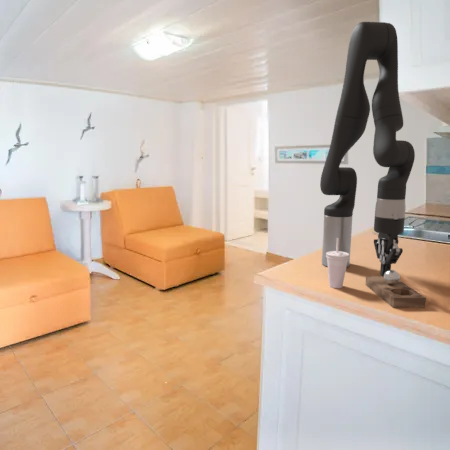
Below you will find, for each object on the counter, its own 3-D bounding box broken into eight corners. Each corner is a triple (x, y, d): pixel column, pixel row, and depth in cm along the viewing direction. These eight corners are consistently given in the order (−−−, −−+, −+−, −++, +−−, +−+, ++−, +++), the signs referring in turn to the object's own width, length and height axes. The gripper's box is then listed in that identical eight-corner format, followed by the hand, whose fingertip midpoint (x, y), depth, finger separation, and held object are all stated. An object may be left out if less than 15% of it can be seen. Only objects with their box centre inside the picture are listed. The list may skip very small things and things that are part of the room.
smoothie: (343, 282, 110) (345, 236, 108) (350, 289, 104) (353, 240, 102) (321, 282, 110) (323, 236, 108) (328, 290, 104) (330, 241, 101)
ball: (380, 281, 103) (381, 268, 102) (394, 281, 103) (395, 267, 102) (387, 286, 99) (388, 272, 98) (401, 286, 99) (403, 272, 99)
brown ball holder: (365, 284, 108) (366, 276, 108) (392, 284, 109) (393, 276, 108) (393, 307, 92) (393, 297, 91) (425, 307, 92) (426, 297, 91)
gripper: (366, 211, 108) (362, 269, 111) (387, 219, 95) (382, 284, 98) (391, 211, 108) (387, 269, 111) (416, 218, 95) (410, 283, 98)
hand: (385, 276), depth 105 cm, fingers closed
